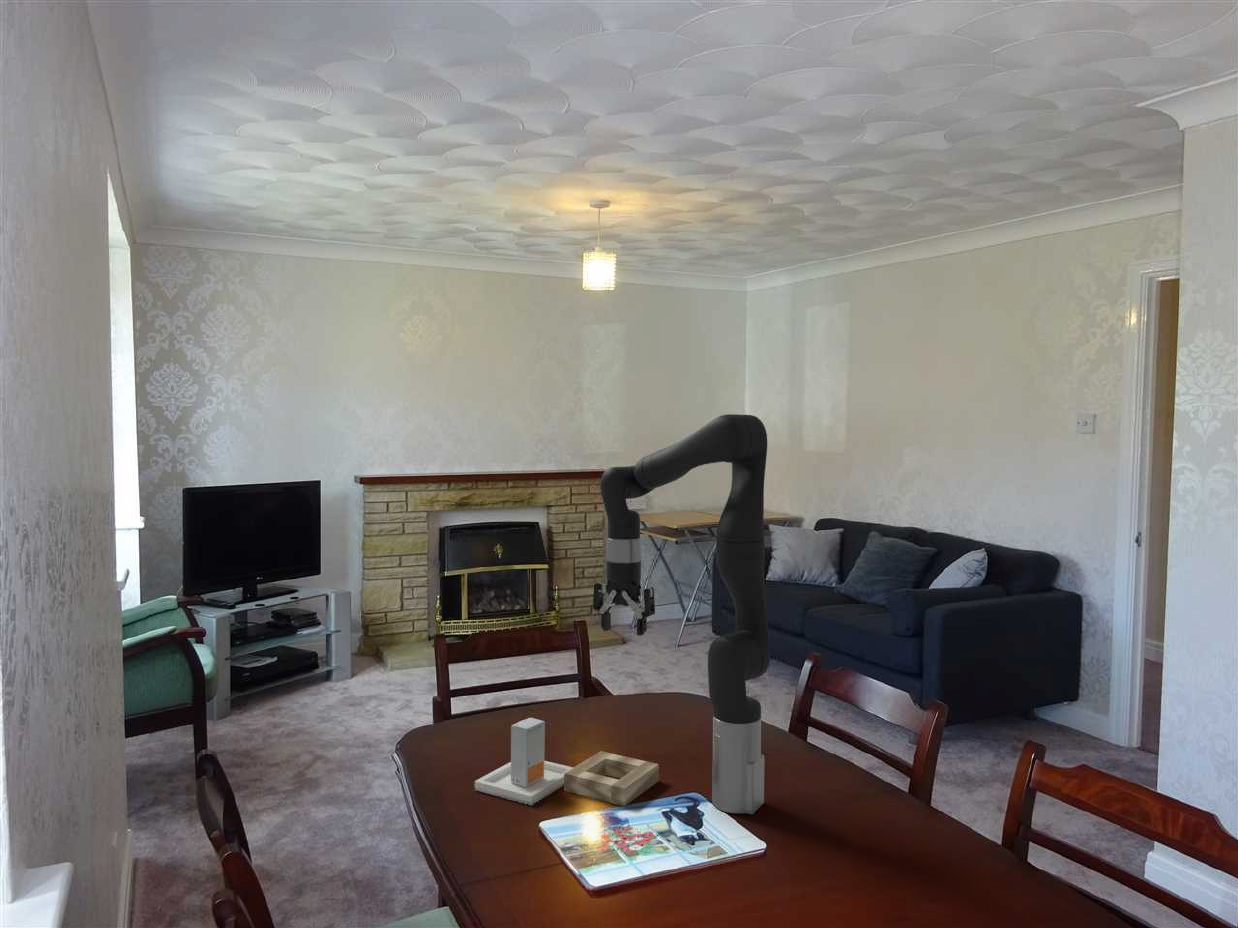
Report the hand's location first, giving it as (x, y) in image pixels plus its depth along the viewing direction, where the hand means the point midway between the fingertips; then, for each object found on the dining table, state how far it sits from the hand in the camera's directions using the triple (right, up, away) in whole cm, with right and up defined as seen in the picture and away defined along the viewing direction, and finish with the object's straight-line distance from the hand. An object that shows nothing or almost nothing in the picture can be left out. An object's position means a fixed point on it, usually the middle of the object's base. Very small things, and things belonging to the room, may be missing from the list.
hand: (623, 632), depth 190 cm
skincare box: (-20, -28, -12) cm, 36 cm away
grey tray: (-20, -29, -11) cm, 37 cm away
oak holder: (-2, -29, -12) cm, 31 cm away
